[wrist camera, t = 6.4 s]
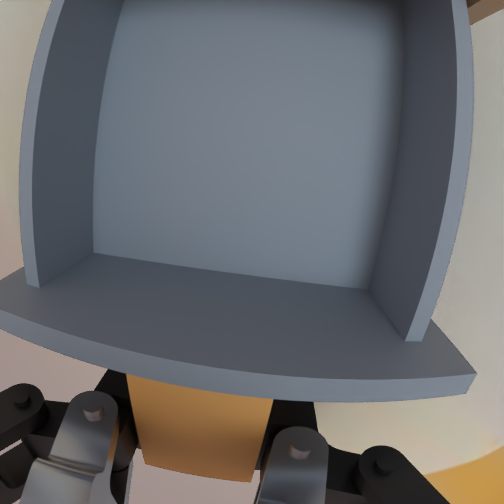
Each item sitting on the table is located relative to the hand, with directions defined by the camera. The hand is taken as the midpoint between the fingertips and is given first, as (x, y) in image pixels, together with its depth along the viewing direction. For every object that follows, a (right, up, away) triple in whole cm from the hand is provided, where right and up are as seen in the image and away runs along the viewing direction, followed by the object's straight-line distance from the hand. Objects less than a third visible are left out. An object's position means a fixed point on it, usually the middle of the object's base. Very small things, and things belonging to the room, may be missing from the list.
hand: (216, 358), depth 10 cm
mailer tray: (+1, +8, -1) cm, 9 cm away
